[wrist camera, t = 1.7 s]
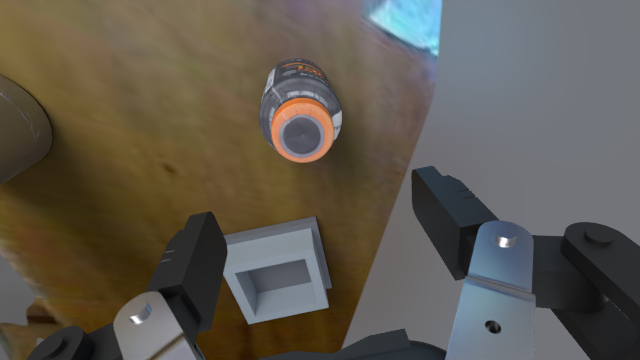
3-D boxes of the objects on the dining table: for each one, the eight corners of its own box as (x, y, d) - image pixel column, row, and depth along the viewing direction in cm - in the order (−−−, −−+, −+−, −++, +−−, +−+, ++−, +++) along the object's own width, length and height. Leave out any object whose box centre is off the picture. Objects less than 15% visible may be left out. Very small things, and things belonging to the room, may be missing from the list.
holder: (248, 299, 42) (244, 329, 38) (218, 236, 36) (210, 264, 32) (331, 282, 42) (335, 310, 38) (315, 216, 36) (319, 241, 32)
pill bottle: (338, 75, 28) (368, 113, 18) (312, 130, 30) (325, 189, 21) (279, 45, 26) (276, 70, 16) (255, 106, 29) (241, 159, 19)
